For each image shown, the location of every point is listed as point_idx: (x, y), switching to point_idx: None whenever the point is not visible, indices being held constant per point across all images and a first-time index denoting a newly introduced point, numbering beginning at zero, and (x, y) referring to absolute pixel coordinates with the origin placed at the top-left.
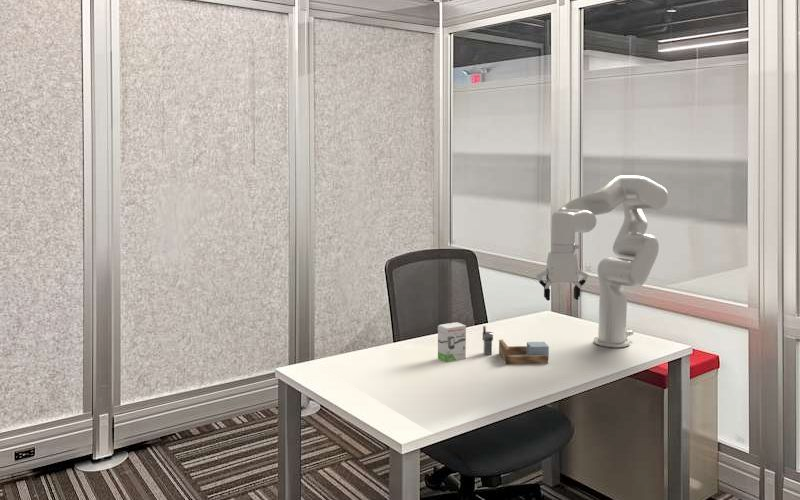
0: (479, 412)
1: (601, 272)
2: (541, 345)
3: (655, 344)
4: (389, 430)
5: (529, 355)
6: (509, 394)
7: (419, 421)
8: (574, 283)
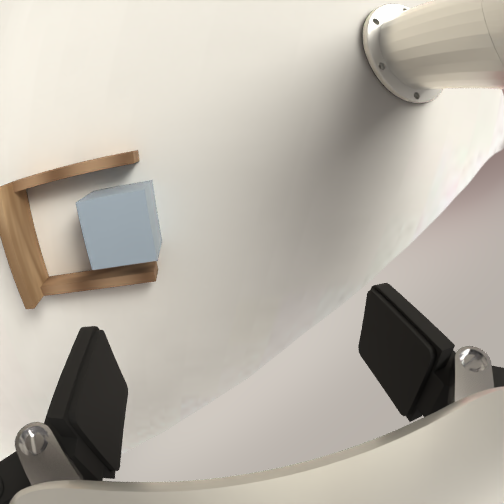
0: None
1: None
2: (129, 248)
3: (481, 92)
4: None
5: (95, 280)
6: None
7: None
8: (451, 401)
